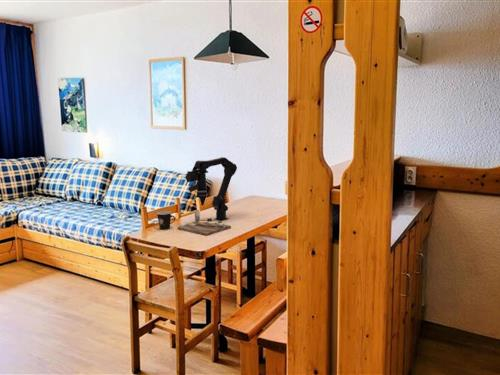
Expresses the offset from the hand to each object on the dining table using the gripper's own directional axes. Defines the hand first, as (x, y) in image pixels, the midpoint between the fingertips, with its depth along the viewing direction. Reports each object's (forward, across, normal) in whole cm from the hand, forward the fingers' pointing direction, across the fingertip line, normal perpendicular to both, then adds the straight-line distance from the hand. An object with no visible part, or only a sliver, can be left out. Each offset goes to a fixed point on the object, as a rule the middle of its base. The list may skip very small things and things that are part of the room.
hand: (202, 203), depth 287 cm
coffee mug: (+13, +9, -23) cm, 28 cm away
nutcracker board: (+13, +13, +1) cm, 19 cm away
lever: (+11, +14, +4) cm, 18 cm away
